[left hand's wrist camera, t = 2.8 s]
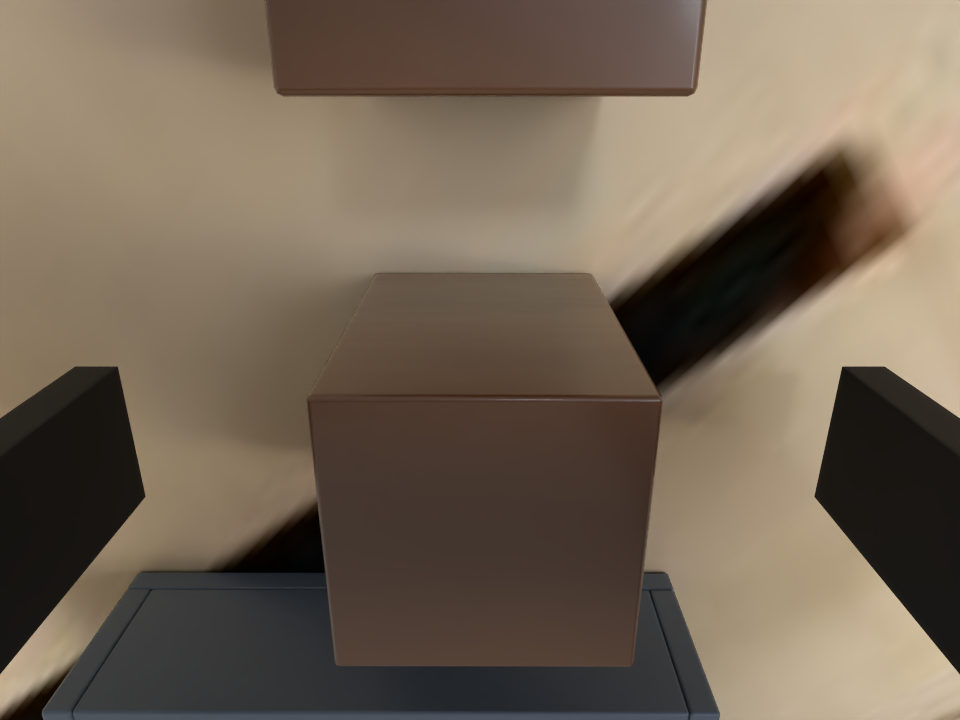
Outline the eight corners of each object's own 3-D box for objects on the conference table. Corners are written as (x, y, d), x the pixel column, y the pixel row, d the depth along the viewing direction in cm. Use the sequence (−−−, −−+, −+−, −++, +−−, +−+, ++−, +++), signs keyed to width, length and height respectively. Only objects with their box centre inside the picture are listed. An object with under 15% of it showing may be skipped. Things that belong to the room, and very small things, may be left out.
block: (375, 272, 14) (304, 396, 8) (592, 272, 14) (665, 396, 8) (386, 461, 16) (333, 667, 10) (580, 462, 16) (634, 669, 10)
